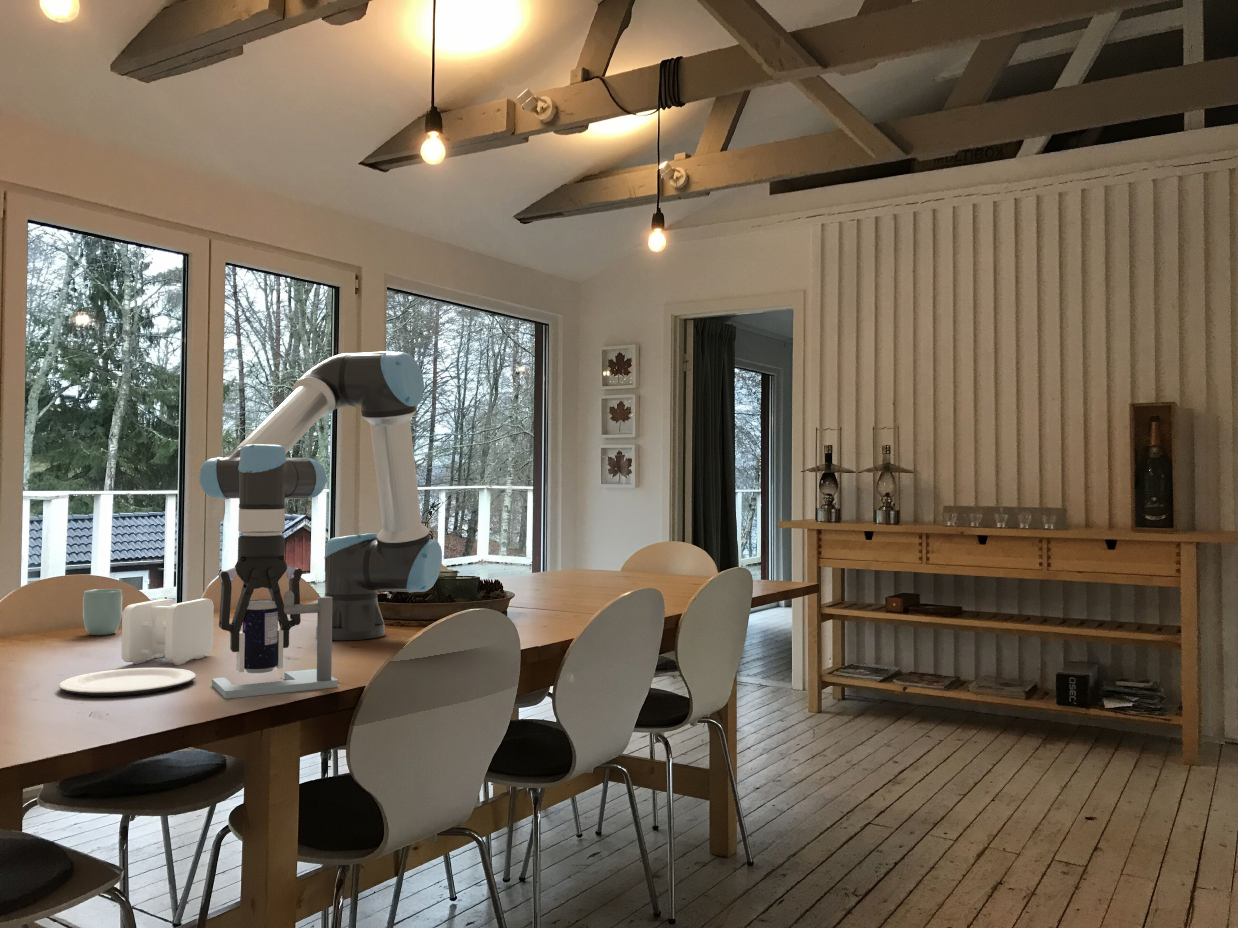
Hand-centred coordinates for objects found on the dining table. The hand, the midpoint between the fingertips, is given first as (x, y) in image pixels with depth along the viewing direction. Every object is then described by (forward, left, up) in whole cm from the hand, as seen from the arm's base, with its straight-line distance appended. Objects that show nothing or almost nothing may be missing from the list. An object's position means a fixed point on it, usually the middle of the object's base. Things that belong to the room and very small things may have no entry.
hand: (259, 668), depth 166 cm
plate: (+19, -10, -3) cm, 22 cm away
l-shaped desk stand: (-2, +3, -3) cm, 4 cm away
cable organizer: (+10, -33, -3) cm, 35 cm away
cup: (+18, -77, -3) cm, 80 cm away
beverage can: (0, 0, -1) cm, 1 cm away
